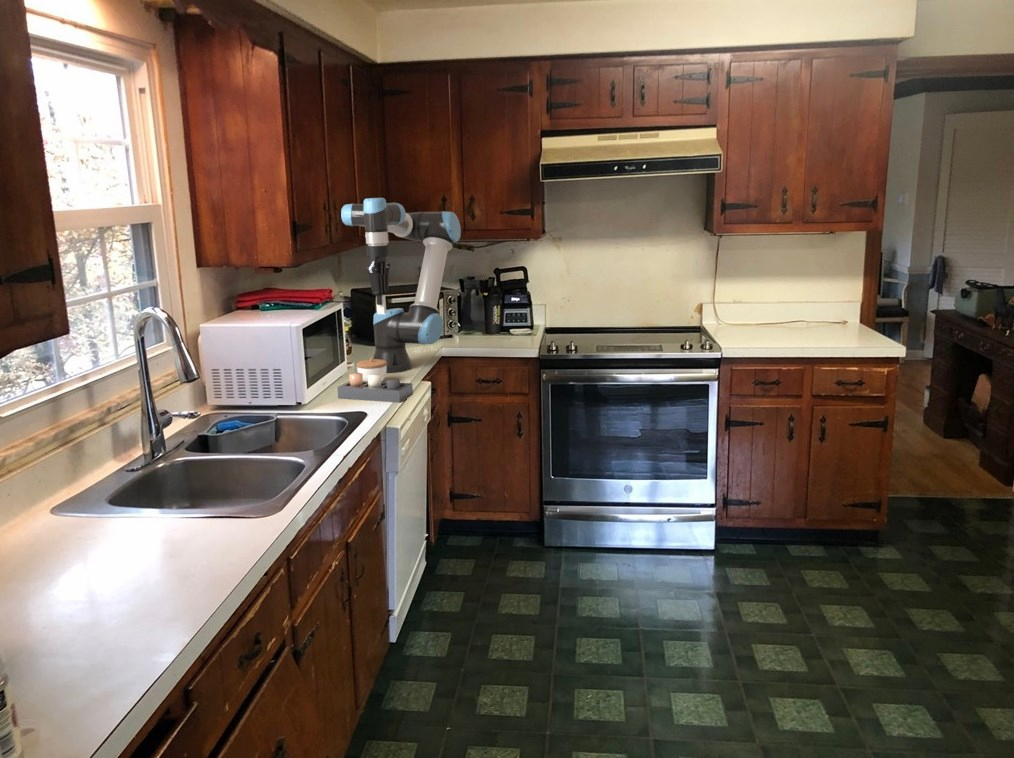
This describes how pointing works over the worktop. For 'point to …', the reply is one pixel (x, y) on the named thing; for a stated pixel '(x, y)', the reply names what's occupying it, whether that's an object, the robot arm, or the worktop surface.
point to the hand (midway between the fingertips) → (381, 313)
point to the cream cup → (374, 380)
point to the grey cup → (393, 384)
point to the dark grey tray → (375, 392)
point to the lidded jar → (372, 368)
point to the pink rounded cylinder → (356, 379)
